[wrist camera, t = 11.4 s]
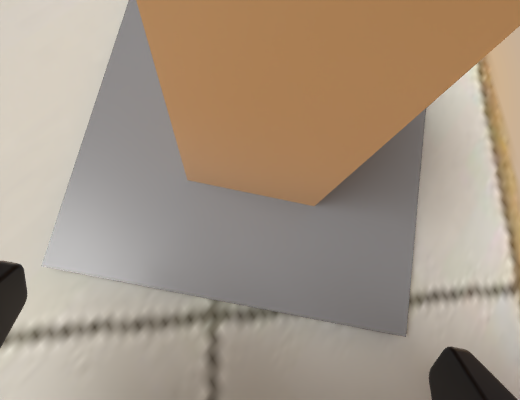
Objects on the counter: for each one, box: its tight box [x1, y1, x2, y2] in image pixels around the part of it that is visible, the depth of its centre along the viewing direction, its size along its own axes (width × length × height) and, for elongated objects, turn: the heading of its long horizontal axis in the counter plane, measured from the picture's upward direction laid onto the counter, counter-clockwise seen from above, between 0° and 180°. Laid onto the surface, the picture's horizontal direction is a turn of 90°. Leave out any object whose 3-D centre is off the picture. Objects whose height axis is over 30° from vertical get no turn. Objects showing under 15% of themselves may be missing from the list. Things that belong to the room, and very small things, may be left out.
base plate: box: [41, 0, 426, 337], centre depth 19 cm, size 16×16×1 cm
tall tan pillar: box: [136, 0, 520, 206], centre depth 12 cm, size 6×6×13 cm
